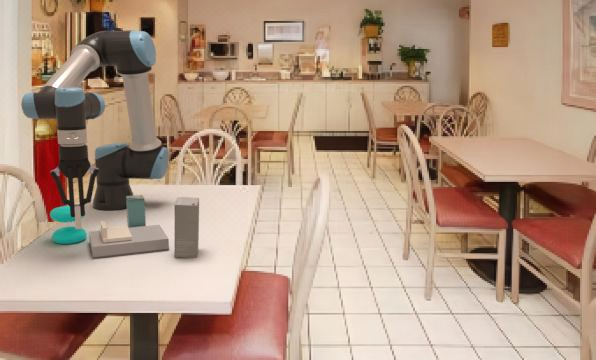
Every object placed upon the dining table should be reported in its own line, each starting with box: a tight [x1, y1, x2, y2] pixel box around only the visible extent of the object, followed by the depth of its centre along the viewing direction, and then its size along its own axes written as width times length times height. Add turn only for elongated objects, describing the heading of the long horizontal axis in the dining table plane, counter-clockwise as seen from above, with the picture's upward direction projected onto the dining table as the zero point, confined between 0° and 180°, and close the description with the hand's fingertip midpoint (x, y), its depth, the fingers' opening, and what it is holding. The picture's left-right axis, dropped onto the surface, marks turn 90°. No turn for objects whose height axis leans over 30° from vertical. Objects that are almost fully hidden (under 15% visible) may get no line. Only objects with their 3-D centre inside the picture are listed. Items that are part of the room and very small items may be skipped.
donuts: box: [49, 205, 88, 245], centre depth 189 cm, size 10×10×10 cm
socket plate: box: [88, 224, 170, 260], centre depth 183 cm, size 16×21×4 cm
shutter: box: [99, 220, 132, 243], centre depth 181 cm, size 12×8×4 cm, turn 22°
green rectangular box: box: [126, 194, 147, 228], centre depth 195 cm, size 5×5×12 cm
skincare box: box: [173, 196, 200, 259], centre depth 176 cm, size 8×7×16 cm
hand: (78, 227), depth 174 cm, fingers closed
